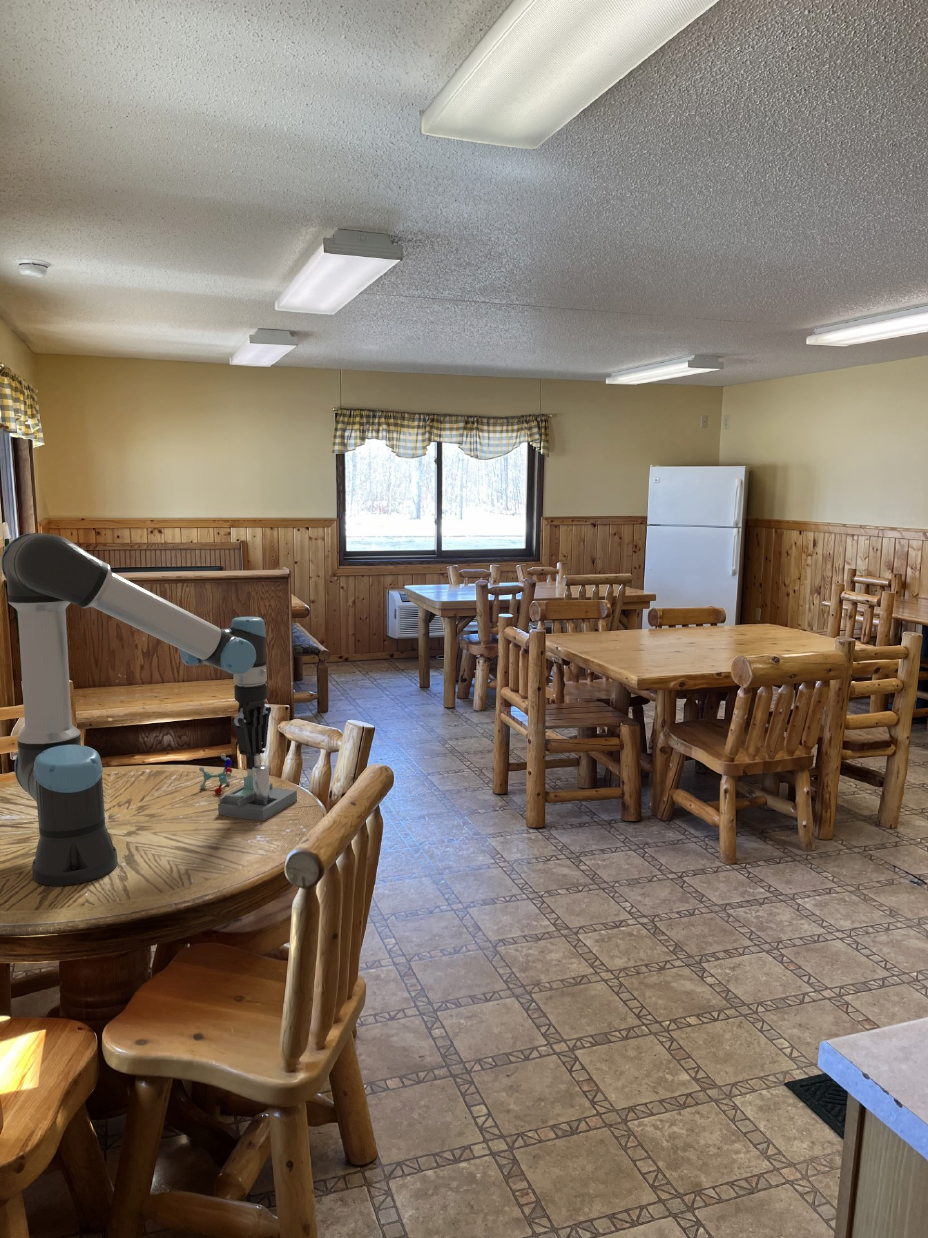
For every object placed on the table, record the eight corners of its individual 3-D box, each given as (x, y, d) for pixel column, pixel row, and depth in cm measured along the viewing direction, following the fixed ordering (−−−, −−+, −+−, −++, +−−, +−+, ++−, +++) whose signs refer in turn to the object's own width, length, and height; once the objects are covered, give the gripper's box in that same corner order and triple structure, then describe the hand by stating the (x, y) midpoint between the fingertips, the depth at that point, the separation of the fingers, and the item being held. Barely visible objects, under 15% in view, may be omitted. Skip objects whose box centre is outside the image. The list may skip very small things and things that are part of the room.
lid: (244, 800, 198) (244, 785, 197) (231, 798, 199) (230, 783, 198) (259, 792, 203) (259, 777, 203) (246, 790, 204) (246, 775, 204)
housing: (263, 821, 192) (262, 803, 191) (218, 814, 196) (217, 797, 196) (297, 800, 205) (296, 784, 204) (254, 795, 209) (253, 778, 209)
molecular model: (180, 779, 210) (201, 742, 213) (201, 787, 219) (221, 751, 221) (216, 799, 206) (237, 761, 208) (235, 806, 214) (255, 769, 217)
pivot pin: (264, 813, 195) (262, 770, 194) (251, 811, 197) (249, 768, 195) (273, 807, 199) (271, 765, 197) (260, 806, 200) (258, 764, 199)
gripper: (247, 690, 194) (251, 791, 197) (279, 679, 206) (283, 774, 209) (219, 687, 196) (224, 787, 199) (253, 677, 208) (256, 771, 212)
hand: (254, 781), depth 204 cm, fingers closed
